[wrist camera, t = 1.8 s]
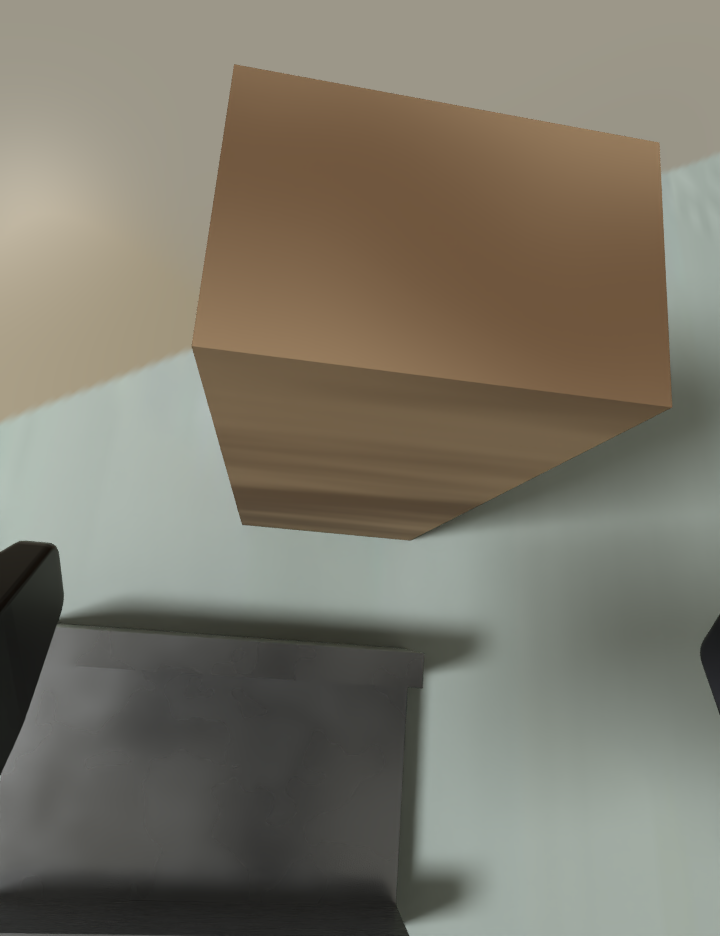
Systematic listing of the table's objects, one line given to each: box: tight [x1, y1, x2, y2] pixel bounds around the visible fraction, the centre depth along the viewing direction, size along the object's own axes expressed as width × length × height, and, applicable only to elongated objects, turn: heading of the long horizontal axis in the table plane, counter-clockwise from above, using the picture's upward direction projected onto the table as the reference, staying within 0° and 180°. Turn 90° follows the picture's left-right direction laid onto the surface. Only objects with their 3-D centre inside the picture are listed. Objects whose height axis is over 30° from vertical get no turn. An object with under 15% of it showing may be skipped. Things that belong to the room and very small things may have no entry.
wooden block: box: [192, 65, 672, 540], centre depth 15 cm, size 4×6×15 cm, turn 86°
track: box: [0, 623, 424, 936], centre depth 18 cm, size 12×8×3 cm
